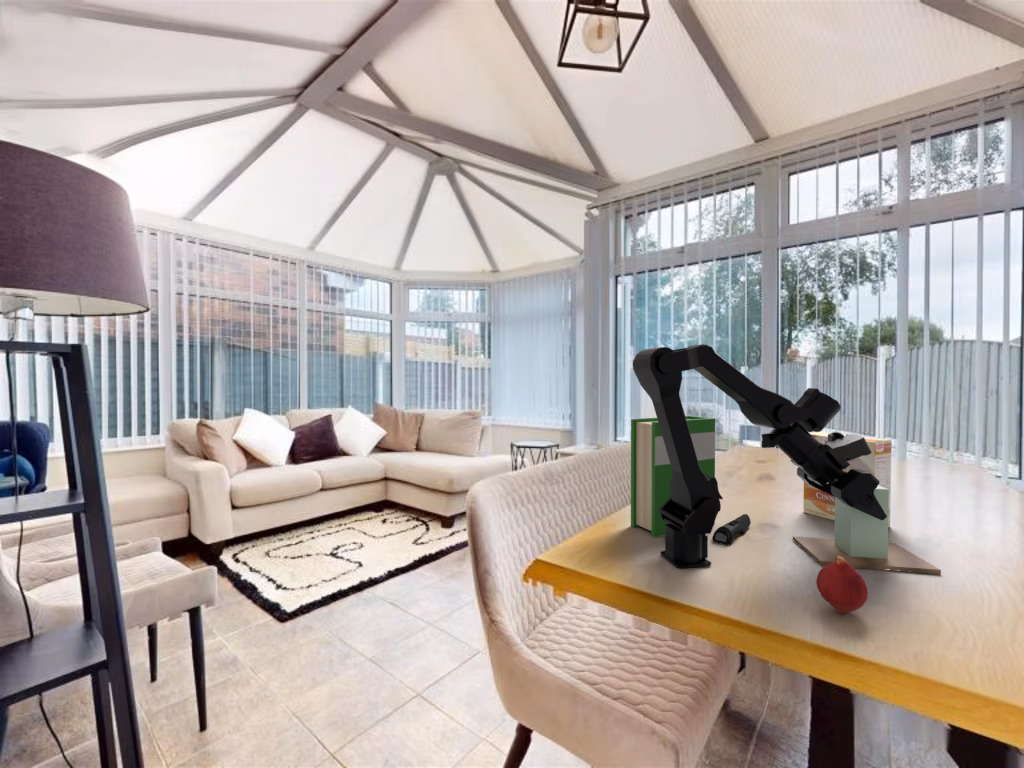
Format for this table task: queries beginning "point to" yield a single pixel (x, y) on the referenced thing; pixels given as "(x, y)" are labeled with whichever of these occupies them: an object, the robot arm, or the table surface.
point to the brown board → (897, 557)
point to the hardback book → (662, 467)
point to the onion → (842, 586)
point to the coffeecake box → (872, 463)
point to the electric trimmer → (731, 530)
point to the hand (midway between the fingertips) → (868, 510)
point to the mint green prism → (862, 529)
